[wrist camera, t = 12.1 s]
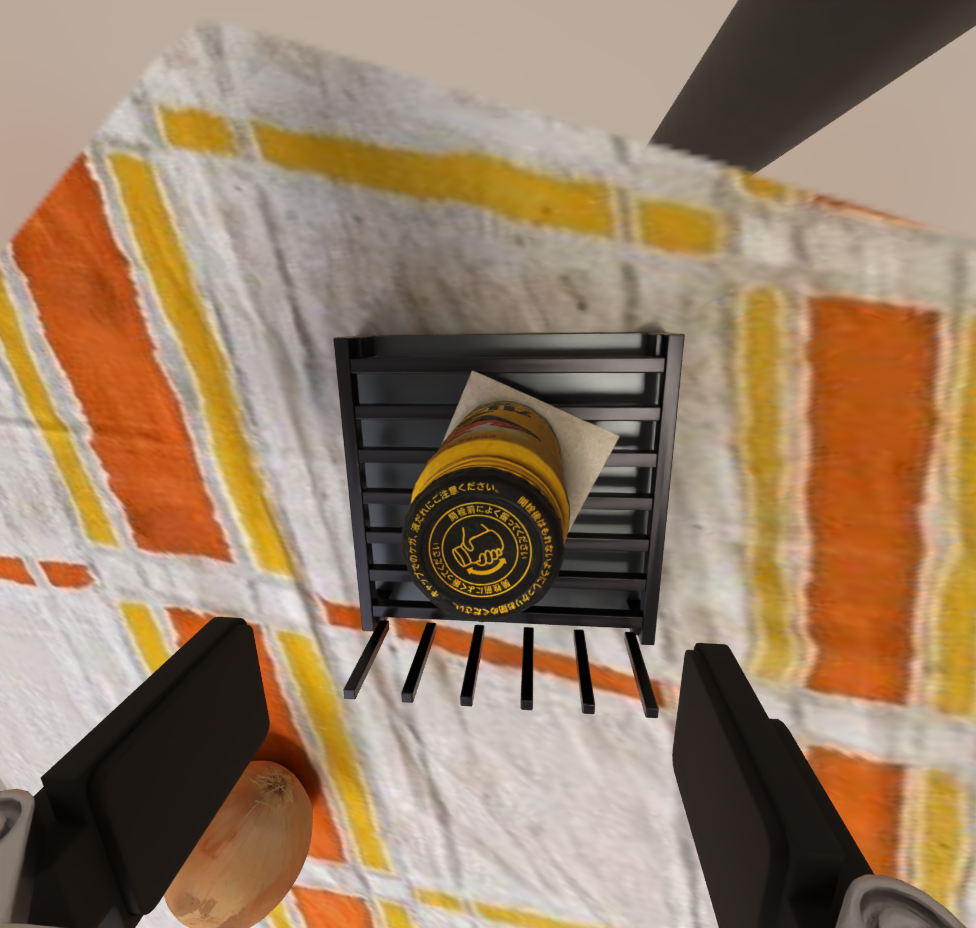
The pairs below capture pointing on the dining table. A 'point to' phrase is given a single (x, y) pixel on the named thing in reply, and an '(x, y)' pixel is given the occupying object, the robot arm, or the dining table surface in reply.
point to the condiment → (499, 501)
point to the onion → (246, 852)
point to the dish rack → (600, 522)
